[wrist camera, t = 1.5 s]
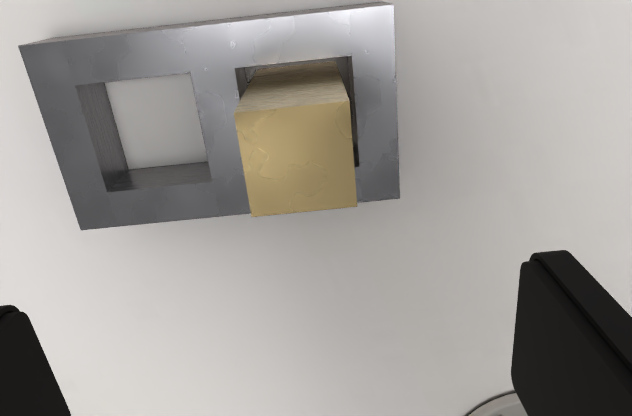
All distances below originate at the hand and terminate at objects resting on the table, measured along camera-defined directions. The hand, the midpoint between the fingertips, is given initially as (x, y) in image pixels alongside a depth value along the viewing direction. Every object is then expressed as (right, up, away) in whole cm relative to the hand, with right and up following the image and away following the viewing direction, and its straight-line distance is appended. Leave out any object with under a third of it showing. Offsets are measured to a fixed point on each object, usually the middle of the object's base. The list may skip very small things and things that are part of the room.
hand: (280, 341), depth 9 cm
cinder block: (-4, +8, +19) cm, 21 cm away
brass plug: (0, +9, +19) cm, 21 cm away
